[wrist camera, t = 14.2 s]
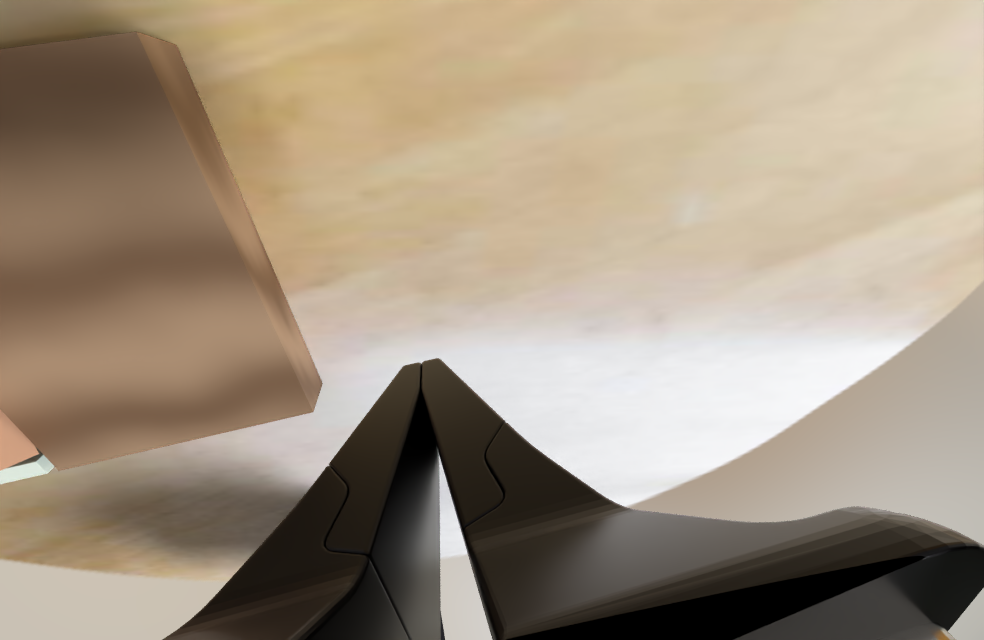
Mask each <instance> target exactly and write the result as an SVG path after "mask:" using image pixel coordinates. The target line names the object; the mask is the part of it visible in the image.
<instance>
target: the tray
mask: <svg viewBox="0 0 984 640" xmlns="http://www.w3.org/2000/svg"><path fill="white" fill-rule="evenodd" d="M35 447H36V446H35ZM36 449H37V451H38V453H39V454H38V455H35V456H33V457H31V458H28V459H26V460H24V461H22V462H19V463H17V464H15V465H12V466H10V467H8V468H6V469H3V470H1V471H0V484H4V483H8V482H13V481H17V480H21V479H26V478H30V477H34V476H39V475H43V474H47V473H49V472H50V471H51V470H52V469H53V468H54V467H55V466H54V465H53V464H52V463H51V462H50V461H49V460H48V459H47V458H46V457H45V456H44V455H43V454H42V453H41V452H40V451H39V449H38V448H37V447H36Z"/></svg>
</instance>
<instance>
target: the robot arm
mask: <svg viewBox="0 0 984 640" xmlns="http://www.w3.org/2000/svg"><path fill="white" fill-rule="evenodd" d="M438 452H439V453H438ZM439 455H440V459H441V462H442V466H443V469H444V473H445V476H446V480H447V483H448V487H449V490H450V494H451V497H452V501H453V504H454V507H455V511H456V514H457V518H458V521H459V525H460V528H461V532H462V535H463V539H464V542H465V546H466V549H467V553H468V556H469V559H470V563H471V566H472V570H473V573H474V577H475V580H476V584H477V587H478V591H479V594H480V597H481V601H482V604H483V608H484V611H485V615H486V618H487V622H488V625H489V629H490V632H491V636H492V639H493V640H956V639H955V638H954V637H953V636H952V635H951V634H950V633H948V630H949V629H950V628H951V627H952V626H953V624H954V623H955V622H956V621H957V619H958V618H959V617H960V615H961V614H962V613H963V612H964V611H965V610H966V608H967V607H968V606H969V605H970V603H971V602H972V601H973V600H974V599H975V597H976V596H977V595H978V594H979V592H980V591H981V590H982V589H983V588H984V545H982V544H980V543H978V542H976V541H974V540H972V539H970V538H968V537H966V536H964V535H962V534H960V533H958V532H956V531H954V530H952V529H949V528H947V527H944V526H941V525H939V524H936V523H933V522H930V521H928V520H925V519H921V518H918V517H914V516H910V515H906V514H900V513H894V512H890V511H885V510H880V509H874V508H868V507H847V508H841V509H837V510H832V511H829V512H826V513H822V514H818V515H816V516H812V517H808V518H804V519H799V520H793V521H784V522H759V523H757V522H740V521H730V520H721V519H712V518H703V517H694V516H686V515H677V514H668V513H659V512H650V511H641V510H633V509H630V508H627V507H624V506H622V505H619V504H617V503H615V502H613V501H611V500H609V499H608V498H606V497H604V496H603V495H601V494H600V493H598V492H597V491H595V490H594V489H592V488H591V487H590V486H588V485H587V484H585V483H584V482H582V481H581V480H580V479H578V478H577V477H575V476H574V475H572V474H571V473H570V472H568V471H567V470H565V469H564V468H563V467H561V466H560V465H558V464H557V463H555V462H554V461H553V460H551V459H550V458H548V457H547V456H546V455H544V454H543V453H542V452H540V451H539V450H538V449H536V448H535V447H534V446H532V445H531V444H530V443H529V442H528V441H526V440H525V439H524V438H523V437H522V436H521V435H520V434H518V433H517V432H516V431H515V430H514V429H513V428H512V427H511V426H510V425H509V424H508V423H506V422H505V421H504V420H503V419H502V418H501V417H500V416H499V415H498V414H497V413H496V412H495V411H494V410H493V409H492V408H491V407H490V406H489V405H488V404H487V403H486V402H485V401H484V400H482V399H481V398H480V397H479V396H478V395H477V394H476V393H475V392H474V391H473V390H472V389H471V388H470V387H469V386H468V385H467V384H466V383H465V382H464V381H463V380H461V379H460V378H459V377H458V376H457V375H456V374H455V373H454V372H453V371H452V370H451V369H450V368H449V367H448V366H447V365H446V364H445V363H444V362H443V361H442V360H440V359H439V358H436V359H432V360H427V361H424V362H423V363H422V364H421V363H414V364H409V365H405V366H403V367H402V369H401V370H400V371H399V372H398V374H397V375H396V376H395V378H394V379H393V380H392V382H391V383H390V384H389V386H388V387H387V388H386V390H385V391H384V392H383V394H382V395H381V396H380V398H379V399H378V400H377V401H376V403H375V404H374V405H373V407H372V408H371V409H370V411H369V412H368V413H367V415H366V416H365V417H364V419H363V420H362V421H361V423H360V424H359V425H358V426H357V428H356V429H355V430H354V432H353V433H352V434H351V436H350V437H349V438H348V440H347V441H346V442H345V444H344V445H343V446H342V448H341V449H340V450H339V451H338V453H337V454H336V455H335V457H334V458H333V459H332V461H331V462H330V463H329V466H327V467H326V468H325V470H324V471H323V472H322V474H321V475H320V476H319V478H318V479H317V480H316V481H315V483H314V484H313V485H312V486H311V488H310V489H309V490H308V491H307V493H306V494H305V495H304V496H303V498H302V499H301V500H300V502H299V503H298V504H297V505H296V506H295V507H294V509H293V510H292V511H291V512H290V513H289V514H288V515H287V517H286V518H285V519H284V520H283V521H282V522H281V523H280V525H279V526H278V527H277V528H276V529H275V530H274V531H273V532H272V534H271V535H270V536H269V537H268V538H267V539H266V540H265V541H264V542H263V543H262V545H261V546H260V547H259V548H258V549H257V550H256V551H255V552H254V553H253V555H252V556H251V557H250V558H249V559H248V560H247V561H246V562H245V563H244V564H243V566H242V567H241V568H240V569H239V570H238V571H237V572H236V573H235V574H234V576H233V577H232V578H231V579H230V580H229V581H228V582H227V583H226V584H225V586H224V587H223V588H222V589H221V590H220V591H219V592H218V593H217V594H216V595H215V597H213V599H212V600H211V601H210V602H209V603H208V604H207V605H206V606H205V607H204V608H203V609H202V610H201V611H199V612H198V613H197V614H196V615H195V616H194V617H193V618H192V619H191V620H189V621H188V622H187V623H185V624H184V625H183V626H182V627H180V628H179V629H178V630H176V631H175V632H173V633H172V634H170V635H169V636H167V637H166V638H164V639H163V640H445V636H444V630H443V624H442V618H441V611H440V505H439Z"/></svg>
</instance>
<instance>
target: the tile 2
mask: <svg viewBox="0 0 984 640" xmlns="http://www.w3.org/2000/svg"><path fill="white" fill-rule="evenodd" d="M38 454H39V453H38V451H37V449H36V447H35V445H34V444H33V443H32V442H31V441H30V440H29V439H28V438H27V437H26V436H25V435H24V434H23V433H22V432H21V431H20V430H19V429H18V427H17V426H16V425H15V424H14V423H13V422H12V421H11V420H10V419H9V418H8V417H7V416H6V415H5V414H4V413H3V412H2V411H1V410H0V471H1V470H3V469H6V468H8V467H10V466H12V465H15V464H17V463H19V462H22V461H24V460H26V459H28V458H31V457H33V456H35V455H38Z"/></svg>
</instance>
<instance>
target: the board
mask: <svg viewBox="0 0 984 640" xmlns="http://www.w3.org/2000/svg"><path fill="white" fill-rule="evenodd" d="M322 384H323V383H322V381H321V379H320V376H319V374H318V372H317V370H316V367H315V365H314V363H313V360H312V358H311V356H310V353H309V351H308V349H307V346H306V344H305V342H304V339H303V337H302V335H301V332H300V330H299V328H298V325H297V323H296V321H295V319H294V316H293V314H292V312H291V309H290V307H289V305H288V302H287V300H286V298H285V295H284V293H283V291H282V288H281V286H280V284H279V281H278V279H277V277H276V274H275V272H274V270H273V268H272V265H271V263H270V261H269V258H268V256H267V254H266V251H265V249H264V247H263V244H262V242H261V240H260V237H259V235H258V233H257V230H256V228H255V226H254V223H253V221H252V219H251V217H250V214H249V212H248V210H247V207H246V205H245V203H244V200H243V198H242V196H241V193H240V191H239V189H238V186H237V184H236V182H235V179H234V177H233V175H232V172H231V170H230V168H229V166H228V163H227V161H226V159H225V156H224V154H223V152H222V149H221V147H220V145H219V142H218V140H217V138H216V135H215V133H214V131H213V128H212V126H211V124H210V121H209V119H208V117H207V115H206V112H205V110H204V108H203V105H202V103H201V101H200V98H199V96H198V94H197V91H196V89H195V87H194V84H193V82H192V80H191V77H190V75H189V73H188V70H187V68H186V66H185V64H184V61H183V59H182V57H181V54H180V52H179V50H178V47H177V45H175V44H172V43H169V42H166V41H163V40H160V39H157V38H154V37H151V36H148V35H145V34H142V33H139V32H129V33H122V34H114V35H106V36H98V37H90V38H83V39H75V40H67V41H59V42H51V43H43V44H36V45H28V46H20V47H12V48H4V49H0V410H1V411H2V412H3V413H4V414H5V415H6V416H7V417H8V418H9V419H10V420H11V421H12V422H13V423H14V424H15V425H16V426H17V427H18V429H19V430H20V431H21V432H22V433H23V434H24V435H25V436H26V437H27V438H28V439H29V440H30V441H31V442H32V443H33V444H34V445H35V446H36V447H37V448H38V449H39V451H40V452H41V453H42V454H43V455H44V456H45V457H46V458H47V459H48V460H49V461H50V462H51V463H52V464H53V465H54V466H55V467H56V468H57V469H58V470H59V471H60V470H65V469H69V468H73V467H78V466H82V465H86V464H91V463H95V462H99V461H104V460H108V459H112V458H117V457H121V456H125V455H130V454H134V453H138V452H143V451H147V450H151V449H156V448H160V447H164V446H169V445H173V444H177V443H181V442H186V441H190V440H194V439H199V438H203V437H207V436H212V435H216V434H220V433H225V432H229V431H233V430H238V429H242V428H246V427H251V426H255V425H259V424H264V423H268V422H272V421H277V420H281V419H285V418H290V417H294V416H298V415H303V414H307V413H311V412H313V411H314V408H315V405H316V402H317V399H318V396H319V393H320V390H321V387H322Z"/></svg>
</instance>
